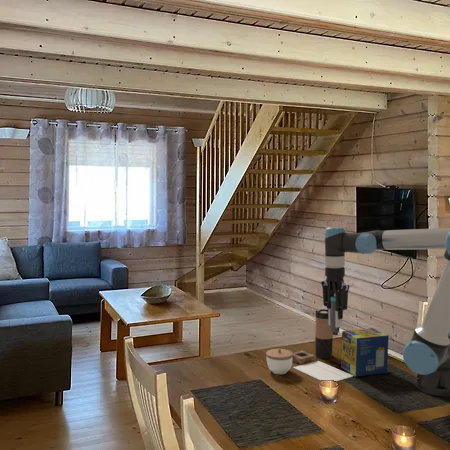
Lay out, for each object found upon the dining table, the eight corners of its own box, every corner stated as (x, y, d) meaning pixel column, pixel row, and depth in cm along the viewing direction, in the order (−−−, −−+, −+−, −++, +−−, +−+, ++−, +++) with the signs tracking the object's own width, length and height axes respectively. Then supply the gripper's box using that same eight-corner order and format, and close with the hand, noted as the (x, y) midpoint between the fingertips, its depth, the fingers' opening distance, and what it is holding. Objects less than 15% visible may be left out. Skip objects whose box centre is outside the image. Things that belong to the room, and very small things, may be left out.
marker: (341, 334, 192) (341, 297, 191) (335, 336, 191) (334, 298, 190) (335, 332, 195) (335, 295, 194) (328, 334, 193) (328, 296, 193)
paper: (353, 376, 193) (353, 375, 193) (327, 384, 185) (327, 383, 185) (318, 361, 209) (318, 360, 209) (293, 367, 202) (293, 367, 202)
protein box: (340, 367, 201) (341, 330, 200) (371, 364, 206) (373, 327, 205) (355, 377, 191) (356, 338, 190) (388, 372, 196) (389, 334, 195)
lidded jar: (262, 374, 195) (262, 351, 194) (270, 365, 205) (270, 343, 204) (289, 378, 191) (289, 354, 190) (295, 368, 201) (295, 346, 200)
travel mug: (332, 359, 212) (333, 313, 211) (314, 358, 214) (315, 313, 212) (332, 353, 220) (333, 309, 218) (315, 352, 221) (315, 308, 220)
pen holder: (314, 361, 210) (315, 355, 210) (300, 364, 205) (300, 359, 205) (302, 355, 216) (302, 350, 216) (288, 359, 212) (288, 353, 212)
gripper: (357, 268, 186) (357, 328, 188) (327, 263, 200) (327, 320, 201) (343, 269, 182) (343, 331, 184) (313, 265, 196) (314, 322, 198)
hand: (335, 325), depth 193 cm, fingers closed on marker, 3 cm apart
